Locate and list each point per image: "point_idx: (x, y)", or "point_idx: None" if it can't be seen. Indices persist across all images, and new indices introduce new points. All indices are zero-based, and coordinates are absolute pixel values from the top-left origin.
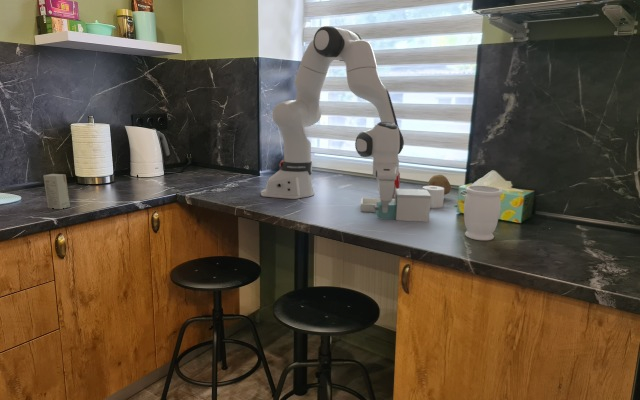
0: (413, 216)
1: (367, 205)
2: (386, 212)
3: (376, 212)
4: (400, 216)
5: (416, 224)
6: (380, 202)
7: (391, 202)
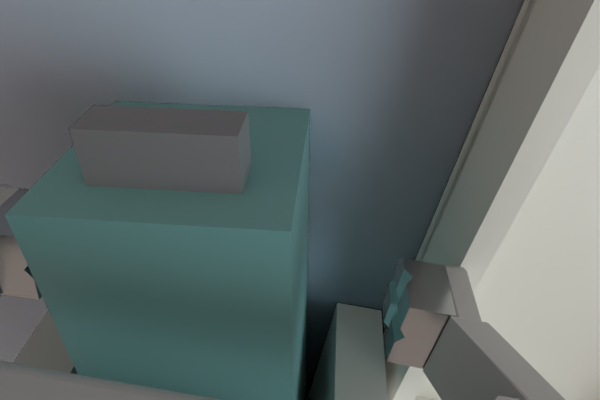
0: None
1: (559, 44)
2: None
3: (286, 126)
4: None
5: (2, 352)
6: (231, 276)
7: (242, 397)
